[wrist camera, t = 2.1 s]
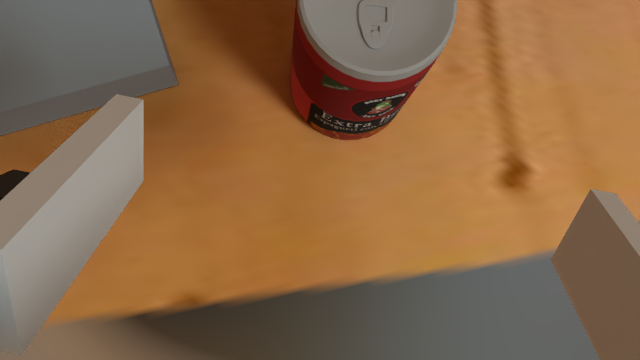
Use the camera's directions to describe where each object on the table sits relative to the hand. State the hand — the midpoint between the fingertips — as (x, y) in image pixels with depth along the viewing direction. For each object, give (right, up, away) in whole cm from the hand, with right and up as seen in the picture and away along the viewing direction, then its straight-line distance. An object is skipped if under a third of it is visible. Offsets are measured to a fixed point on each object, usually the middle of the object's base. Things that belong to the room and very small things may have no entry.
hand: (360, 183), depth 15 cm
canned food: (+1, +6, +19) cm, 21 cm away
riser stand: (-19, +10, +18) cm, 28 cm away
